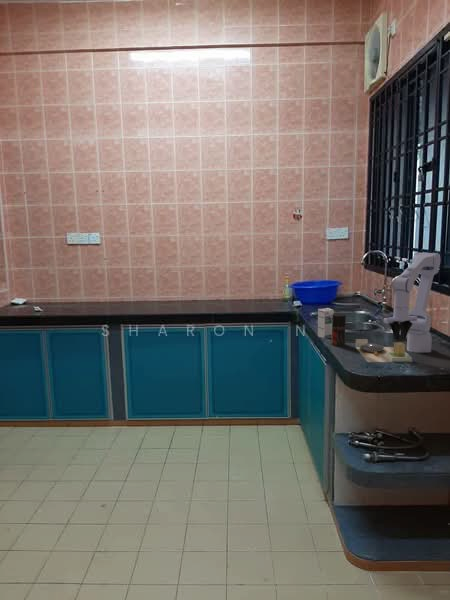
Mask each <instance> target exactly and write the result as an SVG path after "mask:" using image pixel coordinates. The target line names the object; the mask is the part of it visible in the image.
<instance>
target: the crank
mask: <svg viewBox="0 0 450 600" xmlns="http://www.w3.org/2000/svg"><path fill="white" fill-rule="evenodd" d="M354 346H355V347H360V350H362V351H365V352H370V353H373V354H374V355H377V353H379V352H383V351H384V347H385V346H384V345H382V344H378V343H371V342H369V341H368V339H367V338H363V339H362V338H355V344H354Z"/></svg>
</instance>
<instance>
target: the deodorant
mask: <svg viewBox="0 0 450 600" xmlns="http://www.w3.org/2000/svg"><path fill="white" fill-rule="evenodd" d="M346 317H347V316H346V314H344V313H334V314H333V315H332V338H331V346H334V347H345V346H346V344H345V343H346V319H347V318H346Z"/></svg>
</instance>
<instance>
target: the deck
mask: <svg viewBox="0 0 450 600" xmlns="http://www.w3.org/2000/svg"><path fill="white" fill-rule="evenodd" d="M355 348H356V350H357V351H358V352H359V353H360V355H361V356H362V357H363V358H364V360H365V361H366V362H367V363H393V362H392V361H391V360H390V359H389V358H388V357H387V356H386V352H394V346H384V351H383V352H379V353H377V355H374V354H373V353H370V352H365V351H362V350H360V347H358V346H355Z"/></svg>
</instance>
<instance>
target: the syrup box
mask: <svg viewBox="0 0 450 600" xmlns="http://www.w3.org/2000/svg"><path fill="white" fill-rule="evenodd" d="M333 314H335V310H334V309H333V308H330V307H326V308H318V309H317V337H319V338H320V337H321V338H324V339H325V338H331V339H332V315H333Z"/></svg>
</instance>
